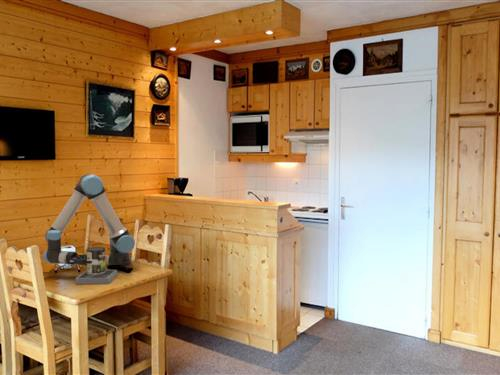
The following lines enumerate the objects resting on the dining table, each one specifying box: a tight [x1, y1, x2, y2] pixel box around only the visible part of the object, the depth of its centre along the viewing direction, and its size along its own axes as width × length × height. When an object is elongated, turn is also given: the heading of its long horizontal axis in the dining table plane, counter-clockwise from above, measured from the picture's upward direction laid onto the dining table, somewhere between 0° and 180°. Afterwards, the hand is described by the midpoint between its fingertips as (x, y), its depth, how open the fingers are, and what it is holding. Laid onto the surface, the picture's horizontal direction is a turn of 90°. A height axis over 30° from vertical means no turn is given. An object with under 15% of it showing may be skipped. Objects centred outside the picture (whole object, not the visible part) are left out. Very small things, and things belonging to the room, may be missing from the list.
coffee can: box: [86, 246, 106, 275], centre depth 264 cm, size 10×10×14 cm
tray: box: [74, 269, 118, 285], centre depth 265 cm, size 18×18×3 cm
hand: (102, 260), depth 263 cm, fingers closed on coffee can, 10 cm apart
